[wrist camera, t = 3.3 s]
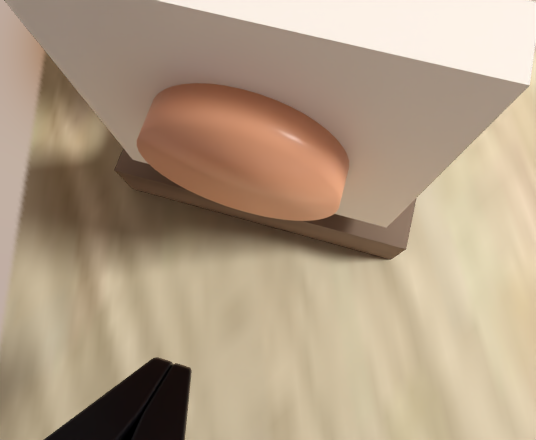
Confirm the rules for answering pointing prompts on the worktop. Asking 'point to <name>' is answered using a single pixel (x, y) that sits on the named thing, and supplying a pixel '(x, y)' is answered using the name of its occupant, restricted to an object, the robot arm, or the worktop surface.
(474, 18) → the button plate
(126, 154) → the brown wooden stand
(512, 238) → the worktop surface
